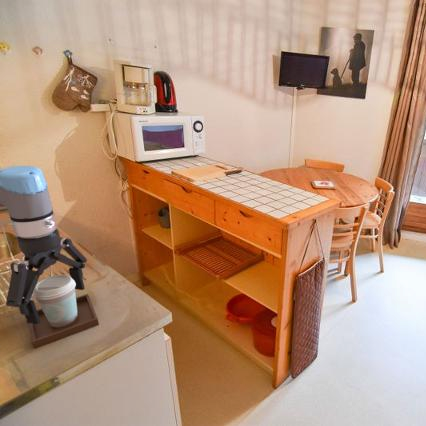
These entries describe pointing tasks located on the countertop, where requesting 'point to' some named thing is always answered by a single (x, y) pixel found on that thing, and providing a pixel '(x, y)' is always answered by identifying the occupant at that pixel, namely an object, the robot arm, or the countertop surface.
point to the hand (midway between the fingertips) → (58, 304)
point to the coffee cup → (57, 299)
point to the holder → (48, 334)
